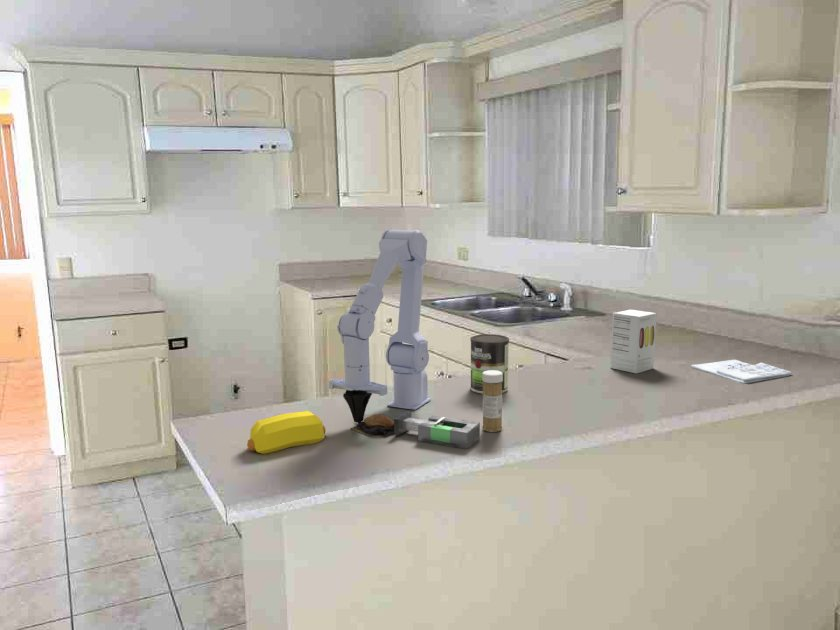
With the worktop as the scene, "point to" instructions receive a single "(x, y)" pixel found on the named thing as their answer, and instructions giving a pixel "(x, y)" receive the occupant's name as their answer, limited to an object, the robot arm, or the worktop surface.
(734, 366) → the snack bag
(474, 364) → the coffee can
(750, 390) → the worktop surface
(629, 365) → the supplement box
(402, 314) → the robot arm
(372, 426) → the bread roll
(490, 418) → the sprinkles bottle
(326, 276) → the worktop surface
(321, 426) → the yellow banana
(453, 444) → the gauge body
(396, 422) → the grey angular piece
